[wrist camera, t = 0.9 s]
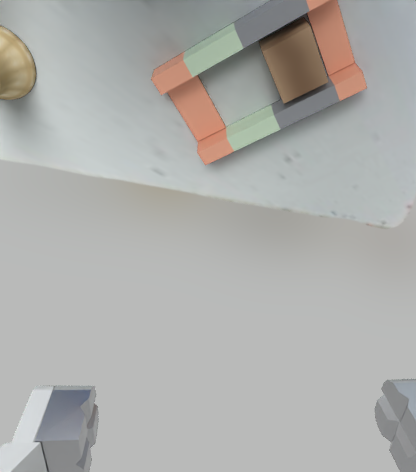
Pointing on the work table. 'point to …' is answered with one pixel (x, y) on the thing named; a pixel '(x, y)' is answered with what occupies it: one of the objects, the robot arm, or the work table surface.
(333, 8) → the multicolored rectangular frame
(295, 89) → the walnut block
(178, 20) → the work table surface
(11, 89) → the hand bell
